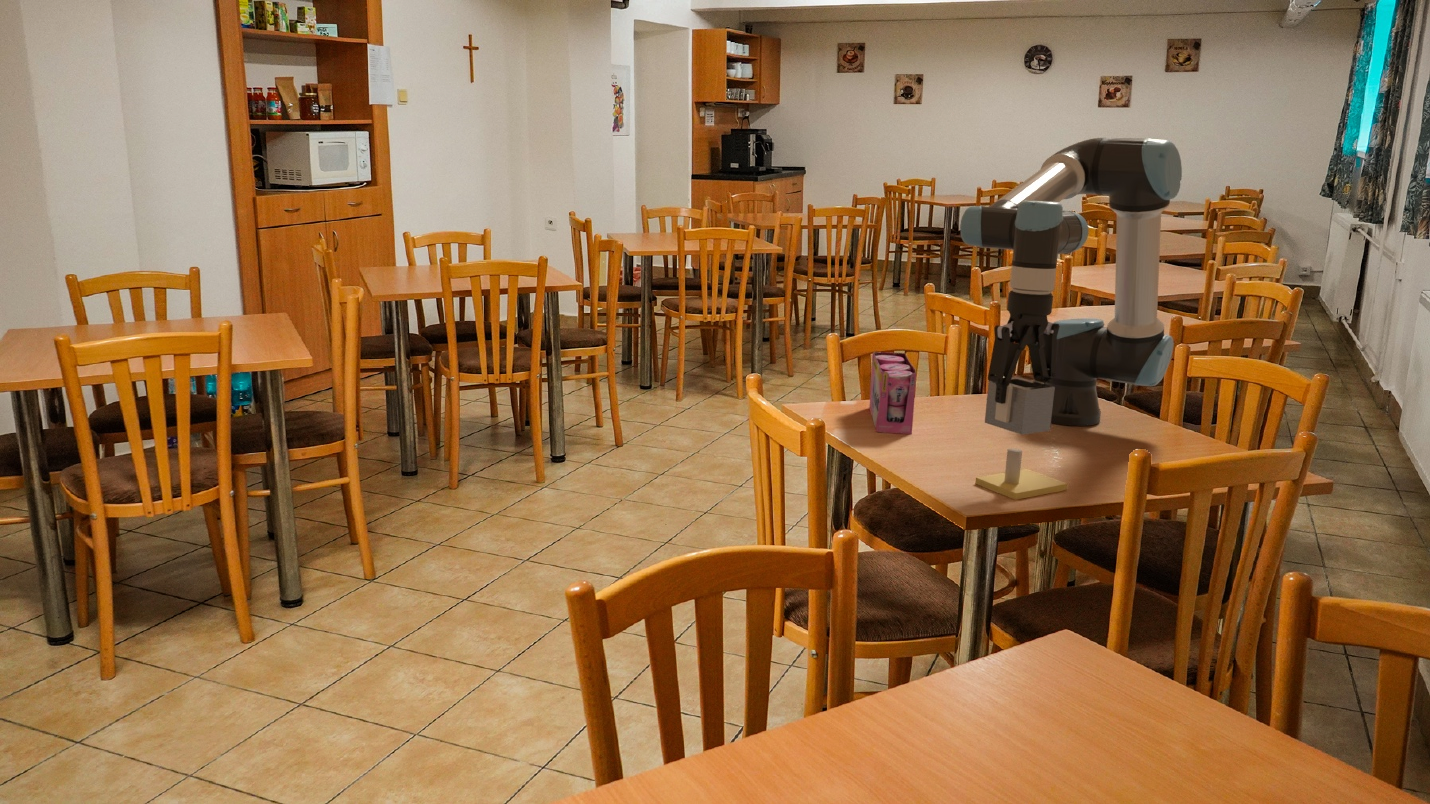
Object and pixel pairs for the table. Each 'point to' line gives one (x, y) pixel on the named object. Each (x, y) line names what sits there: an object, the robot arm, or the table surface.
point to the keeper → (1019, 480)
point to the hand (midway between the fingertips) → (1017, 418)
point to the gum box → (892, 392)
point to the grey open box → (1023, 406)
